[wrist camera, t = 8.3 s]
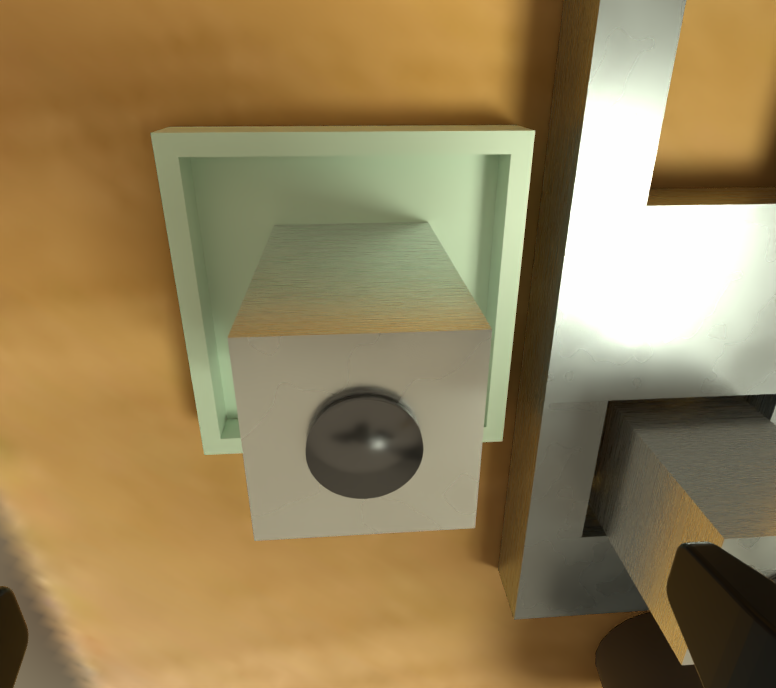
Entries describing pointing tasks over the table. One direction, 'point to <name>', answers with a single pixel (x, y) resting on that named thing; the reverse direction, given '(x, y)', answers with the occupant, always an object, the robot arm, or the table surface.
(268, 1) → the table surface
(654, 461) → the nut
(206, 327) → the tray
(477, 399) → the nut
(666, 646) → the coffee cup
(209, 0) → the table surface
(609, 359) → the grey socket board
